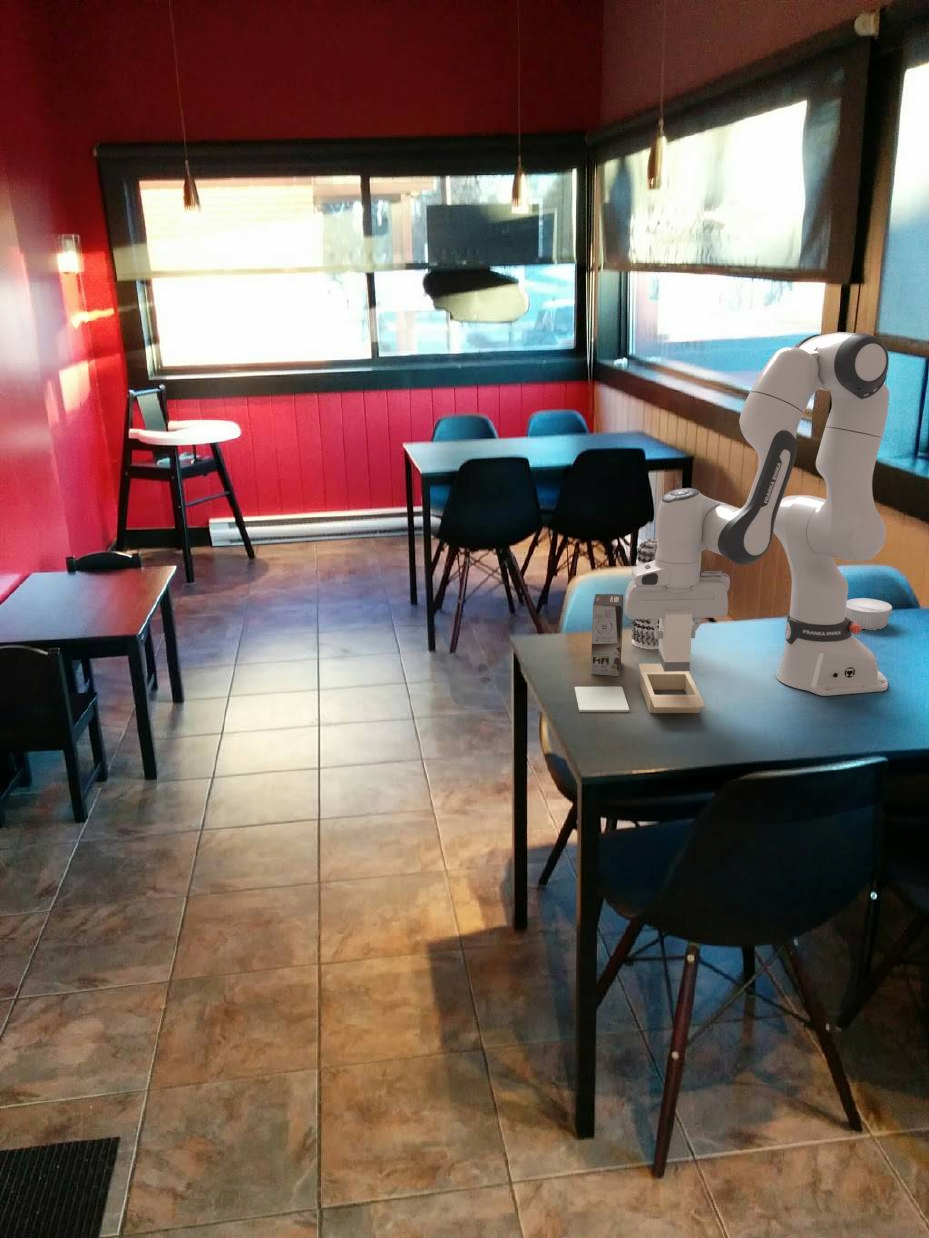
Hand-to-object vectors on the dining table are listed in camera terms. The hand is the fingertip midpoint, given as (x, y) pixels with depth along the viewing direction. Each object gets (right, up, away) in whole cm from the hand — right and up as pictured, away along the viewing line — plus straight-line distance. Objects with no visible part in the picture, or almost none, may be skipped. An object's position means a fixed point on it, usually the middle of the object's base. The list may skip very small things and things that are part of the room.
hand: (674, 637), depth 201 cm
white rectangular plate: (-14, -13, +5) cm, 20 cm away
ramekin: (+57, +2, +47) cm, 74 cm away
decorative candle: (+2, -2, +37) cm, 37 cm away
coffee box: (-11, -7, +22) cm, 25 cm away
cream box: (0, -5, +2) cm, 6 cm away
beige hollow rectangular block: (0, -13, +4) cm, 14 cm away
